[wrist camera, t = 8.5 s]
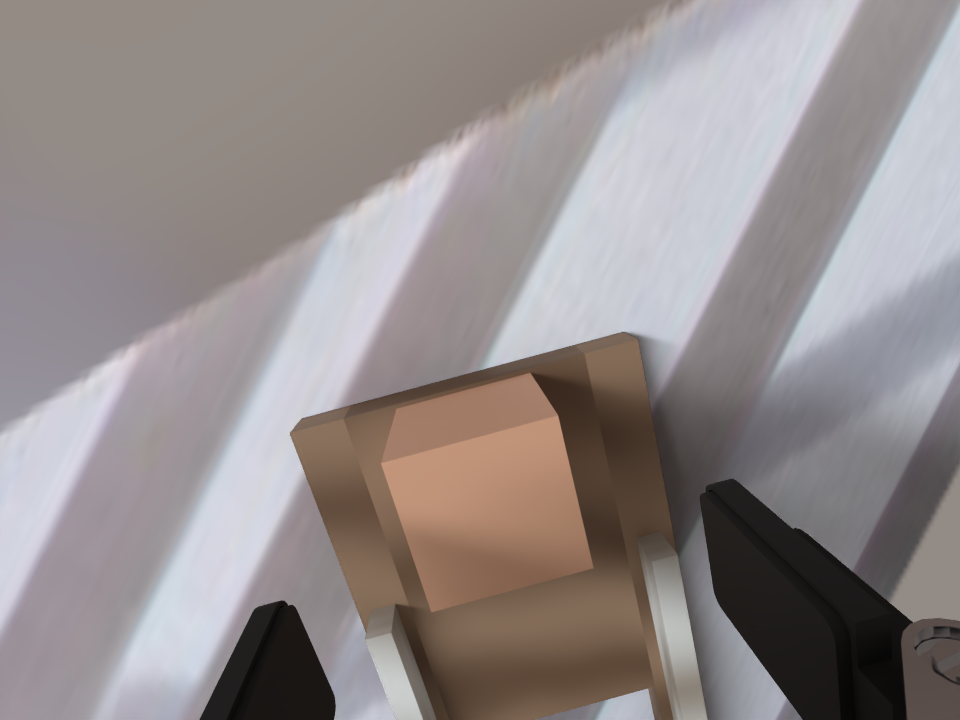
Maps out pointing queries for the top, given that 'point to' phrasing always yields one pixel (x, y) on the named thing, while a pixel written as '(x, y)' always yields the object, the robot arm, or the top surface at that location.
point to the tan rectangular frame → (536, 608)
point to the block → (485, 492)
